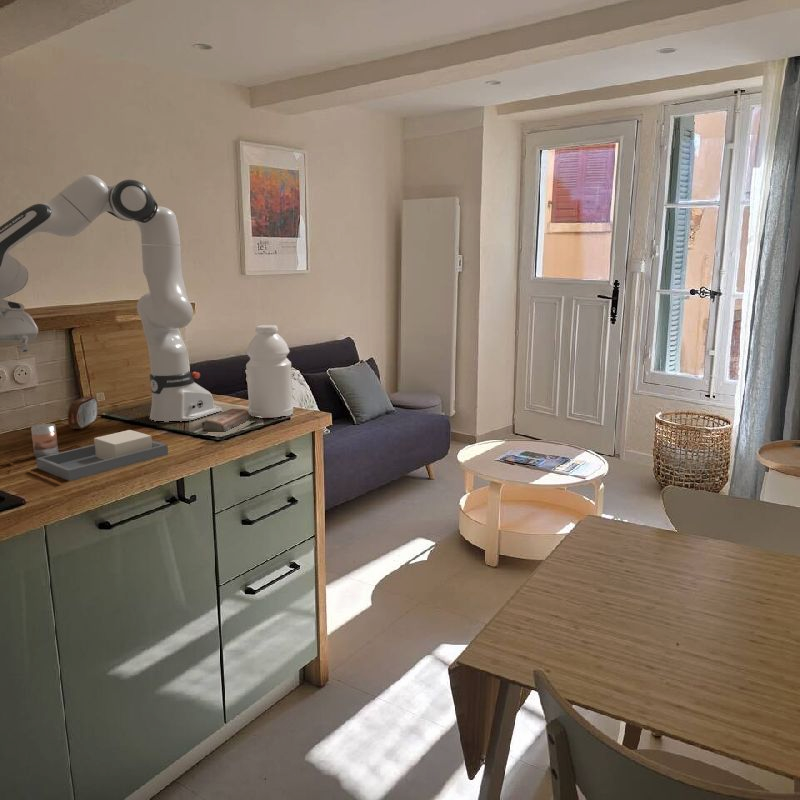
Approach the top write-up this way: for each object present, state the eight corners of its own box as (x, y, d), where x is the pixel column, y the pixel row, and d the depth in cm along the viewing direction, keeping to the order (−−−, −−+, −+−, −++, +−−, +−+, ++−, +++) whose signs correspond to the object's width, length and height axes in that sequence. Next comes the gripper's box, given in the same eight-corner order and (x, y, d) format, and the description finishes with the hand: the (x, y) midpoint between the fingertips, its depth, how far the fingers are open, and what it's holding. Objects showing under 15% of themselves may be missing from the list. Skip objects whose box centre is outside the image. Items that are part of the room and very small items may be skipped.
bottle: (281, 407, 239) (276, 322, 232) (301, 414, 228) (297, 326, 221) (241, 413, 230) (235, 325, 224) (260, 421, 220) (255, 330, 213)
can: (52, 451, 192) (48, 422, 190) (63, 455, 188) (59, 425, 187) (30, 456, 188) (26, 426, 186) (41, 460, 184) (37, 430, 182)
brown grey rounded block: (91, 419, 226) (88, 393, 224) (101, 419, 226) (98, 393, 224) (68, 432, 211) (64, 404, 209) (79, 432, 211) (75, 404, 209)
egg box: (131, 447, 192) (129, 429, 191) (152, 454, 186) (151, 435, 185) (96, 456, 185) (94, 438, 184) (116, 464, 179) (114, 444, 178)
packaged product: (226, 406, 221) (255, 408, 218) (227, 421, 222) (256, 423, 219) (192, 420, 204) (223, 423, 201) (193, 437, 206) (224, 439, 203)
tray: (134, 445, 196) (133, 435, 196) (168, 456, 186) (167, 444, 186) (37, 470, 177) (36, 458, 176) (69, 483, 167) (68, 470, 166)
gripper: (-51, 305, 186) (-31, 347, 182) (28, 303, 202) (49, 342, 198) (-58, 321, 189) (-38, 362, 186) (21, 318, 206) (41, 356, 202)
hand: (8, 352), depth 192 cm, fingers open, 8 cm apart
